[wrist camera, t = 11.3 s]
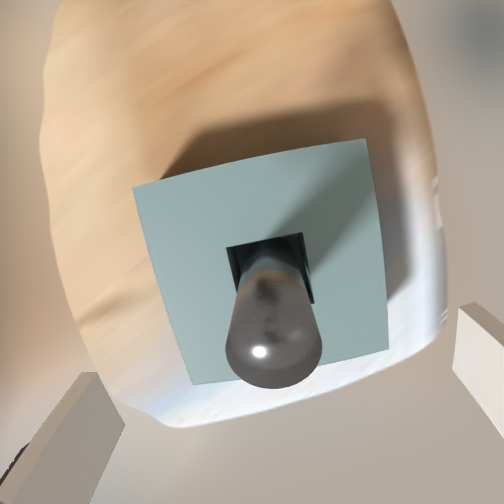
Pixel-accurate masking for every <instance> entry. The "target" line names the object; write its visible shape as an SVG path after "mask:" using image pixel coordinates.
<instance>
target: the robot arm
mask: <svg viewBox="0 0 504 504" xmlns="http://www.w3.org/2000/svg"><path fill="white" fill-rule="evenodd" d="M452 370H453V371H454V373H455V374H456V375H457V376H458V378H459V379H460V380H461V381H462V383H463V384H464V385H465V387H467V389H468V391H469V392H470V393H471V394H472V396H473V397H474V398H475V400H476V401H477V402H478V403H479V405H480V406H481V408H482V409H483V410H484V412H485V413H486V415H487V416H488V417H489V418H490V420H491V421H492V423H493V424H494V426H495V427H496V428H497V430H498V431H499V433H500V434H501V435H502V437H503V438H504V324H503V323H502V322H500V321H499V320H497V318H495V317H494V316H493V315H492V314H490V313H489V312H488V311H486V310H485V309H484V308H482V307H481V306H480V305H479V304H477V303H476V302H473V303H471V304H467V305H464V306H461V307H459V311H458V324H457V335H456V344H455V353H454V360H453V368H452ZM124 427H125V423H124V422H123V420H122V418H121V416H120V415H119V413H118V411H117V409H116V408H115V406H114V404H113V402H112V400H111V399H110V397H109V395H108V393H107V391H106V389H105V387H104V385H103V383H102V382H101V380H100V378H99V376H98V374H97V372H87V373H81V374H80V375H79V377H78V378H77V379H76V381H75V382H74V383H73V384H72V386H71V387H70V388H69V390H68V391H67V392H66V394H65V395H64V396H63V398H62V399H61V400H60V402H59V403H58V404H57V406H56V407H55V409H54V410H53V411H52V412H51V414H50V415H49V417H48V418H47V419H46V421H45V422H44V423H43V425H42V426H41V428H40V429H39V430H38V432H37V433H36V434H35V436H34V437H33V439H32V440H31V442H29V443H28V444H27V445H26V446H25V447H24V448H22V449H21V450H20V452H19V453H18V454H17V456H16V457H15V459H14V462H12V463H11V464H10V466H9V470H8V469H7V471H6V472H5V473H4V475H3V476H2V478H1V479H0V504H89V503H90V501H91V498H92V496H93V494H94V491H95V489H96V487H97V485H98V482H99V480H100V478H101V476H102V474H103V471H104V469H105V467H106V465H107V463H108V461H109V459H110V456H111V454H112V452H113V450H114V448H115V446H116V444H117V441H118V439H119V437H120V435H121V433H122V431H123V429H124Z"/></svg>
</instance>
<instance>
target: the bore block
mask: <svg viewBox="0 0 504 504" xmlns="http://www.w3.org/2000/svg"><path fill="white" fill-rule="evenodd" d="M132 189H133V193H134V198H135V202H136V206H137V210H138V214H139V218H140V222H141V226H142V230H143V233H144V237H145V241H146V245H147V248H148V252H149V255H150V259H151V262H152V266H153V269H154V273H155V276H156V279H157V283H158V286H159V289H160V292H161V296H162V299H163V302H164V305H165V308H166V311H167V314H168V317H169V320H170V323H171V326H172V329H173V332H174V335H175V338H176V341H177V344H178V347H179V349H180V352H181V355H182V358H183V360H184V363H185V366H186V368H187V371H188V374H189V376H190V379H191V382H192V384H193V385H198V384H208V383H216V382H225V381H232V380H240V379H241V378H240V377H238V376H237V375H236V374H235V373H234V371H233V370H232V369H231V367H230V365H229V363H228V361H227V358H226V352H225V346H226V340H227V336H228V331H229V327H230V322H231V318H232V313H233V309H234V305H235V300H236V296H237V291H238V287H239V282H240V278H241V274H242V269H243V265H244V260H245V256H246V252H247V249H248V247H249V245H250V244H251V243H252V242H255V241H260V240H265V239H270V238H275V237H282V238H284V239H285V240H287V241H288V242H289V243H290V245H291V246H292V248H293V250H294V253H295V256H296V259H297V262H298V266H299V269H300V272H301V275H302V278H303V281H304V284H305V287H306V290H307V294H308V297H309V300H310V303H311V306H312V310H313V313H314V316H315V319H316V323H317V326H318V329H319V332H320V336H321V340H322V355H321V358H320V361H319V363H318V365H317V366H321V365H325V364H330V363H335V362H339V361H343V360H348V359H352V358H356V357H360V356H364V355H368V354H372V353H376V352H380V351H383V350H387V349H389V340H388V311H387V293H386V279H385V267H384V256H383V247H382V237H381V229H380V221H379V214H378V206H377V200H376V193H375V187H374V181H373V175H372V169H371V163H370V158H369V153H368V148H367V143H366V138H363V139H355V140H348V141H342V142H335V143H329V144H322V145H316V146H310V147H305V148H299V149H293V150H288V151H283V152H278V153H272V154H267V155H262V156H258V157H253V158H248V159H243V160H239V161H234V162H230V163H225V164H221V165H217V166H213V167H208V168H204V169H200V170H196V171H192V172H188V173H184V174H180V175H177V176H173V177H169V178H165V179H162V180H158V181H154V182H151V183H147V184H144V185H140V186H137V187H134V188H132Z"/></svg>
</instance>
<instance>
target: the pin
mask: <svg viewBox="0 0 504 504" xmlns="http://www.w3.org/2000/svg"><path fill="white" fill-rule="evenodd" d="M225 352H226V358H227V361H228V363H229V365H230V367H231V369H232V370H233V371H234V373H235V374H236V375H237V376H238V377H240V378H241V379H242V380H244V381H245V382H247V383H249V384H251V385H254V386H257V387H261V388H267V389H278V388H285V387H289V386H292V385H295V384H297V383H299V382H301V381H302V380H304V379H305V378H307V377H308V376H309V375H310V374H311V373H312V372H313V371H314V369H315V368H316V367H317V365H318V363H319V361H320V358H321V355H322V340H321V336H320V332H319V329H318V326H317V323H316V319H315V316H314V313H313V310H312V306H311V303H310V300H309V297H308V294H307V290H306V287H305V284H304V281H303V278H302V275H301V272H300V269H299V266H298V262H297V259H296V256H295V253H294V250H293V248H292V246H291V245H290V243H289V242H288V241H287V240H285V239H284V238H282V237H275V238H270V239H265V240H260V241H255V242H252V243H251V244H250V245H249V247H248V249H247V252H246V256H245V260H244V265H243V269H242V274H241V278H240V282H239V287H238V291H237V296H236V300H235V305H234V309H233V313H232V318H231V322H230V327H229V331H228V336H227V340H226V346H225Z"/></svg>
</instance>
